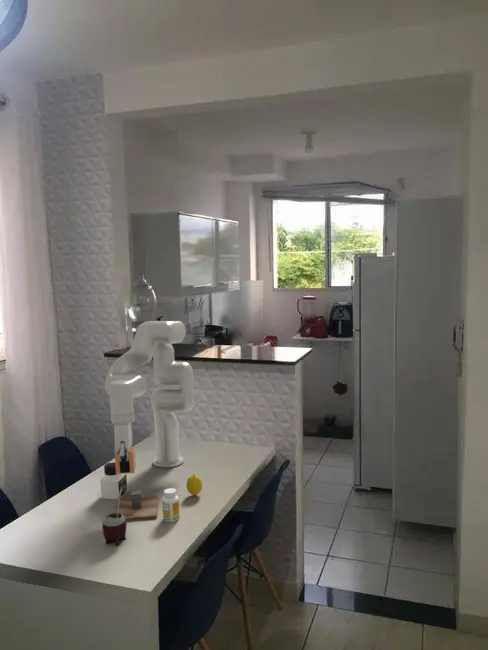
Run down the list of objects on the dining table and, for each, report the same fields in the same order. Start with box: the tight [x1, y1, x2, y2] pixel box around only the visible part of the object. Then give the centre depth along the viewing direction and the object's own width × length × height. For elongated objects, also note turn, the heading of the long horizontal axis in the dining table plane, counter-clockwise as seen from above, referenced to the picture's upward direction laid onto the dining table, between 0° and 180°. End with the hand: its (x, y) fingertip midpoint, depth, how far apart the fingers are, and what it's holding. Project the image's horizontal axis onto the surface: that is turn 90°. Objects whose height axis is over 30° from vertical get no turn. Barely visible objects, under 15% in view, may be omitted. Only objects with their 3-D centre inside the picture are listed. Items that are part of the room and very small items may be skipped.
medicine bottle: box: [99, 461, 128, 500], centre depth 205 cm, size 7×7×12 cm
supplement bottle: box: [161, 487, 180, 523], centre depth 186 cm, size 5×5×10 cm
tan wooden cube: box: [114, 446, 137, 475], centre depth 191 cm, size 6×6×7 cm
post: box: [130, 490, 142, 509], centre depth 193 cm, size 3×3×5 cm
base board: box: [114, 494, 159, 522], centre depth 194 cm, size 16×14×1 cm
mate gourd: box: [102, 487, 127, 547], centre depth 172 cm, size 8×8×15 cm
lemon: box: [186, 474, 203, 497], centre depth 202 cm, size 6×6×8 cm
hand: (126, 467), depth 191 cm, fingers closed on tan wooden cube, 5 cm apart
